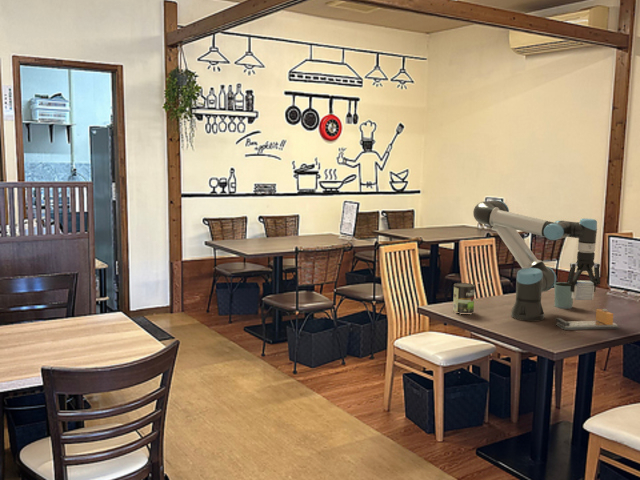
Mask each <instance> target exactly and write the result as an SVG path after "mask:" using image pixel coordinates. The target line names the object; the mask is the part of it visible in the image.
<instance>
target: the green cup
mask: <svg viewBox="0 0 640 480" xmlns="http://www.w3.org/2000/svg"><path fill="white" fill-rule="evenodd" d="M553 287H554V307H555V308H557V309H564V310H565V309H566V310H567V309H572V308H573V303H574V302H573V300H574V299H573V298H571V296H572V292H571V291H570V289H571V285H570V284H568V283H567V282H565V281H564V282H563V281H562V282H556V283H555V285H554V286H553Z"/></svg>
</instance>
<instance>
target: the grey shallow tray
mask: <svg viewBox="0 0 640 480" xmlns="http://www.w3.org/2000/svg"><path fill="white" fill-rule="evenodd" d="M555 322H556V323H555V326H556V325H557V326H556V327H558V328H560V329H562V330H563V329H564V331H575V330H577V331H579V330H587V331H588V330H619V329H620V326H619V325H618V324H617V323H616V322H613V325H606V324H604V323H602V322H599V321H597V320H580V321H573V320H572V321H569V320H568V321H566V320H564V319H562V318H561V317H556V318H555Z"/></svg>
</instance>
